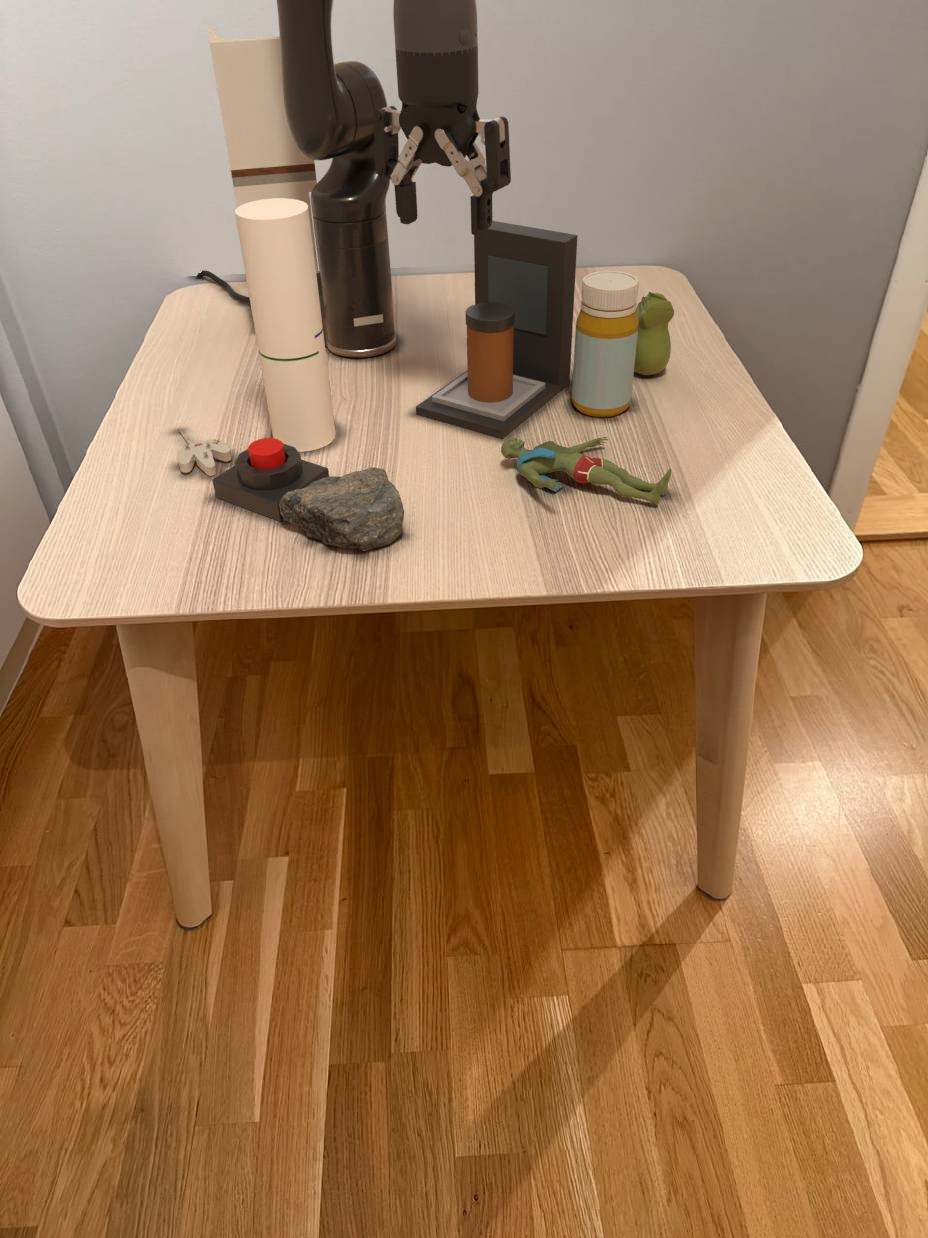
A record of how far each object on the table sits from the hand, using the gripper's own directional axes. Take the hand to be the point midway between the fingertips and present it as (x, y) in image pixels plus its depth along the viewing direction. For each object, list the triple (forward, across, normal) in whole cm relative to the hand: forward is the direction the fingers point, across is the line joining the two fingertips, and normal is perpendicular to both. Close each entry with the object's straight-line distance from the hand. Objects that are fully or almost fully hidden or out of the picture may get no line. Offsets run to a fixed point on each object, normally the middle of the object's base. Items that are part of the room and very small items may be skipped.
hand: (443, 227), depth 95 cm
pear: (+22, -14, -24) cm, 36 cm away
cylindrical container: (+22, +14, +10) cm, 28 cm away
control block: (+22, +9, +22) cm, 32 cm away
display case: (+22, +39, -18) cm, 48 cm away
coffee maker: (+22, -1, -9) cm, 24 cm away
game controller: (+22, +22, +19) cm, 37 cm away
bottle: (+22, -13, -13) cm, 29 cm away
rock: (+22, -2, +24) cm, 33 cm away
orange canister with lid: (+21, -1, -8) cm, 22 cm away
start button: (+19, +9, +22) cm, 30 cm away
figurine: (+23, -19, +4) cm, 30 cm away
